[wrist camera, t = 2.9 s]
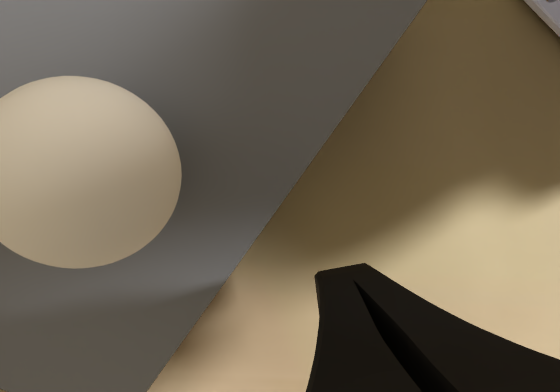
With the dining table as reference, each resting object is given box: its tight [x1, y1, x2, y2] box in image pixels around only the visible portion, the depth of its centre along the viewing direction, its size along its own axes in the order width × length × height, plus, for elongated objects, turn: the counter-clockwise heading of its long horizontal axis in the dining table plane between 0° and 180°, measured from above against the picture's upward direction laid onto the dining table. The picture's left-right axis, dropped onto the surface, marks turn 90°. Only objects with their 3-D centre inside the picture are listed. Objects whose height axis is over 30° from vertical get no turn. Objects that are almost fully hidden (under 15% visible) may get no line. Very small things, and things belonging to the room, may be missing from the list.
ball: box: [0, 76, 182, 269], centre depth 7 cm, size 4×4×4 cm
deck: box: [0, 0, 427, 392], centre depth 9 cm, size 15×15×4 cm
